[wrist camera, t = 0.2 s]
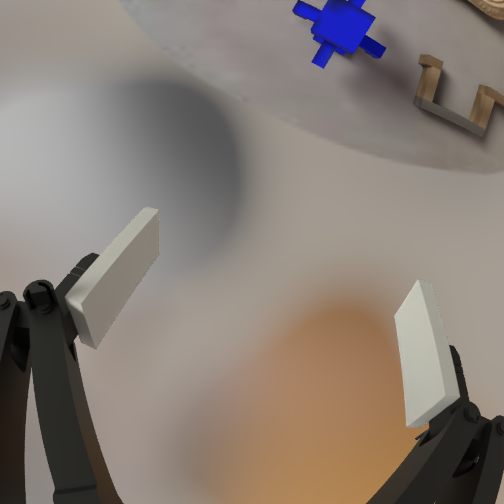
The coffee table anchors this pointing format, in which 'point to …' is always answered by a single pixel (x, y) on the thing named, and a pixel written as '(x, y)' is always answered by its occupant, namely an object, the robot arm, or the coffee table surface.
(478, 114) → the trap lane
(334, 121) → the coffee table surface
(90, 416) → the robot arm
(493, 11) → the pottery oil lamp
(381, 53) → the figurine
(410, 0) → the coffee table surface
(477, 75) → the coffee table surface
